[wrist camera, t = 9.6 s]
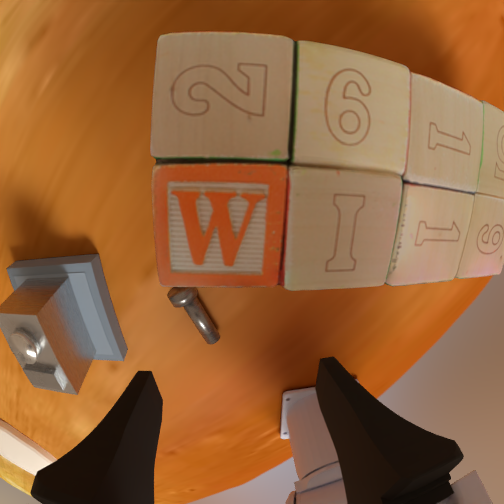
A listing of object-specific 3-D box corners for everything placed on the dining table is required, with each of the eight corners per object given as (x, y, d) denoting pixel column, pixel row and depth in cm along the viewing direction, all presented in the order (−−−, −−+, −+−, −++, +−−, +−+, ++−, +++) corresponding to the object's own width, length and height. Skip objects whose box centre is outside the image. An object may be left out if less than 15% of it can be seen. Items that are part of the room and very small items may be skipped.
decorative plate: (-25, 443, 29) (-47, 399, 22) (-19, 432, 32) (-38, 385, 25) (62, 495, 36) (66, 475, 29) (65, 482, 39) (71, 457, 32)
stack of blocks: (465, 141, 18) (583, 172, 7) (455, 211, 20) (562, 271, 9) (198, 96, 16) (151, 28, 4) (196, 193, 18) (153, 292, 7)
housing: (96, 351, 20) (74, 402, 15) (56, 348, 20) (30, 393, 15) (69, 276, 18) (30, 323, 12) (27, 278, 17) (-13, 319, 12)
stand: (127, 349, 22) (123, 361, 21) (49, 345, 22) (43, 355, 20) (98, 253, 19) (90, 262, 17) (15, 261, 18) (6, 268, 17)
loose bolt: (224, 329, 22) (225, 346, 20) (202, 338, 22) (201, 354, 21) (193, 277, 20) (191, 291, 18) (169, 287, 20) (165, 301, 19)
